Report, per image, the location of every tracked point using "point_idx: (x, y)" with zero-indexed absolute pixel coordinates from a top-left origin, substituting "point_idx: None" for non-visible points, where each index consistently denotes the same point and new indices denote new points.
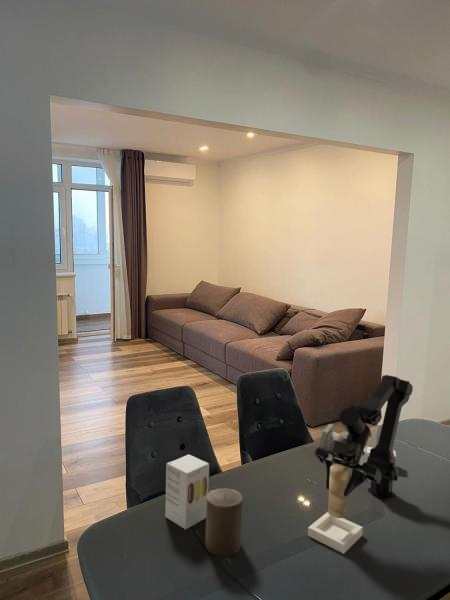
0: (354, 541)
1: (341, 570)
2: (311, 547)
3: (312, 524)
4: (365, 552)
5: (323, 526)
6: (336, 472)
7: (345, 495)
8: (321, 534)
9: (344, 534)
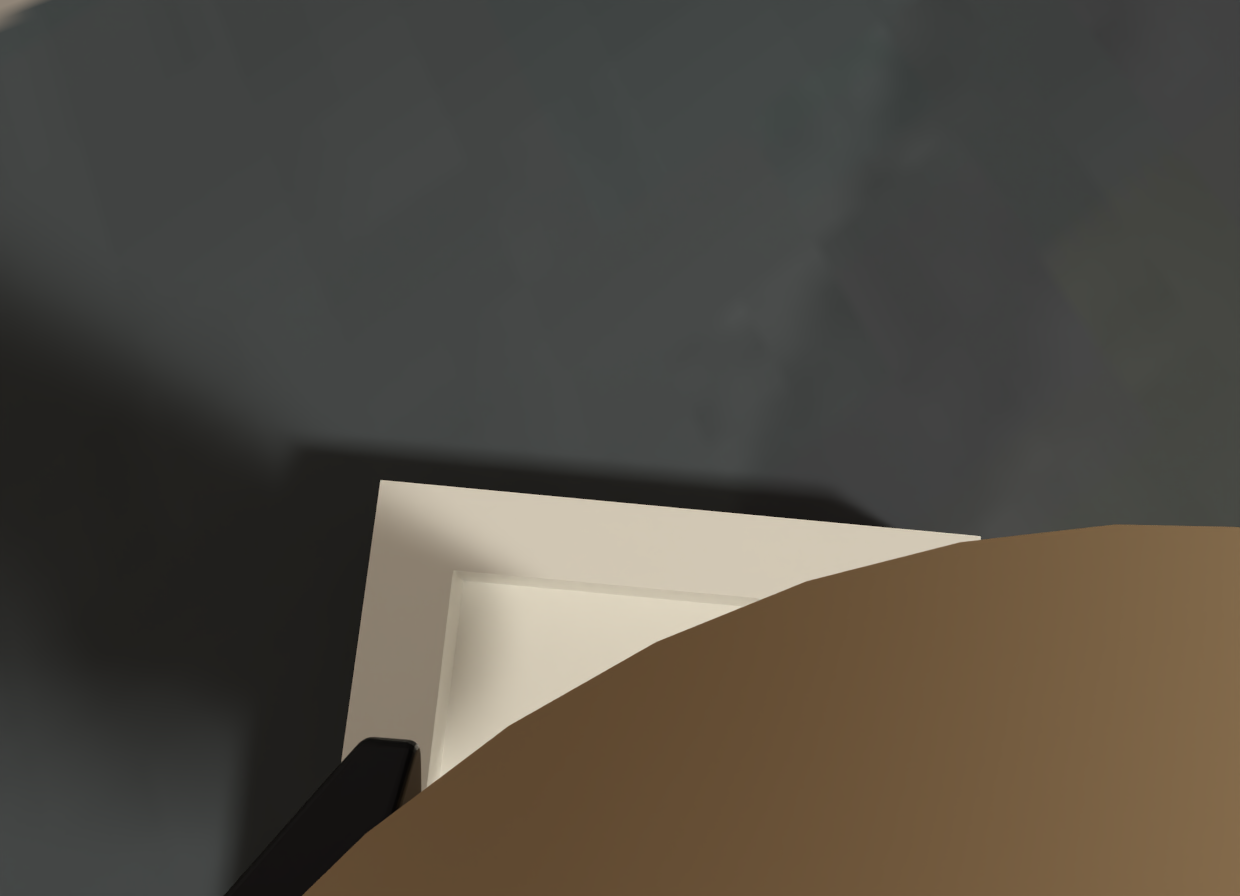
0: None
1: (319, 210)
2: (781, 366)
3: None
4: (168, 719)
5: None
6: (1052, 544)
7: (358, 762)
8: (751, 515)
9: None
